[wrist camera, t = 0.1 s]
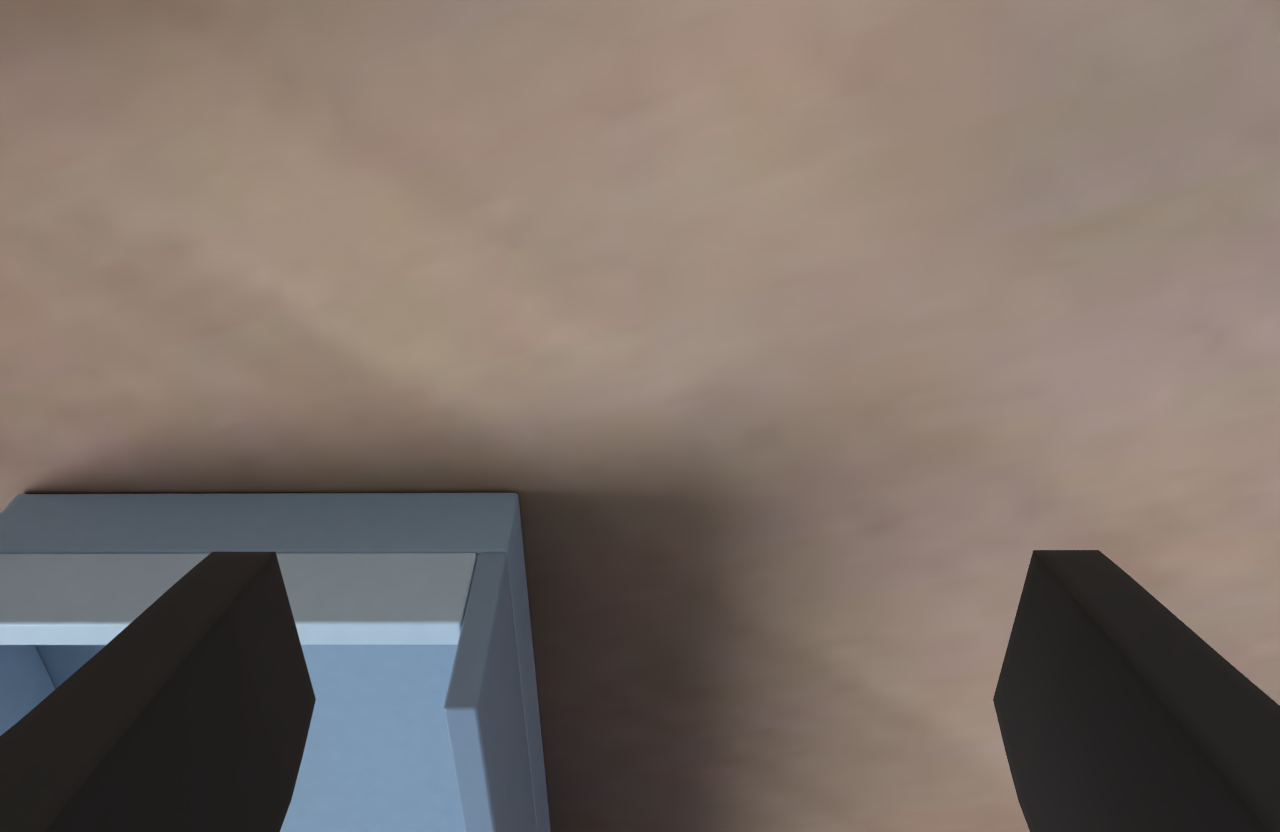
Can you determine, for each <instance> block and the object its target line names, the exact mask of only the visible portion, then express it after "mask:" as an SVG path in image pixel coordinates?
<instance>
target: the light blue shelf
mask: <svg viewBox="0 0 1280 832" xmlns="http://www.w3.org/2000/svg"><path fill="white" fill-rule="evenodd" d="M211 552H276V555H277V559H278V563H279V566H280V570H281V574H282V577H283V581H284V585H285V588H286V592H287V596H288V599H289V603H290V607H291V610H292V614H293V618H294V621H295V625H296V629H297V632H298V636H299V639H300V643H301V647H302V650H303V654H304V658H305V661H306V665H307V669H308V672H309V676H310V680H311V683H312V687H313V691H314V694H315V698H316V701H315V705H314V710H313V714H312V718H311V723H310V727H309V731H308V736H307V740H306V744H305V749H304V753H303V757H302V761H301V765H300V769H299V772H298V776H297V780H296V784H295V788H294V792H293V796H292V800H291V802H290V805H289V808H288V811H287V813H286V816H285V819H284V822H283V824H282V827H281V830H280V832H551V829H550V819H549V809H548V798H547V788H546V777H545V767H544V757H543V746H542V736H541V726H540V715H539V705H538V695H537V684H536V674H535V664H534V653H533V643H532V632H531V622H530V612H529V601H528V591H527V581H526V570H525V560H524V550H523V539H522V529H521V518H520V508H519V498H518V495H517V493H242V494H20V495H17V496H16V497H15V498H14V499H13V500H12V501H11V502H10V503H9V504H8V506H7V507H6V508H5V509H4V510H3V511H2V512H1V513H0V736H1V735H2V734H3V733H5V732H6V731H7V730H8V729H10V728H11V727H12V726H13V725H14V724H16V723H17V722H18V721H19V720H21V719H22V718H23V717H24V716H25V715H26V714H28V713H29V712H30V711H31V710H32V709H33V708H35V707H36V706H37V705H38V704H39V703H40V702H41V701H43V700H44V699H45V698H46V697H47V696H48V695H49V694H51V693H52V692H53V691H54V690H55V689H56V688H57V687H59V686H60V685H61V684H62V683H63V682H64V681H66V680H67V679H68V678H69V677H70V676H71V675H72V674H74V673H75V672H76V671H77V670H78V669H79V668H80V667H82V666H83V665H84V664H85V663H86V662H87V661H88V660H90V659H91V658H92V657H93V656H94V655H95V654H97V653H98V652H99V651H100V650H101V649H102V648H103V647H105V646H106V645H107V644H108V643H109V642H110V641H111V640H112V639H114V638H115V637H116V636H117V635H118V634H119V633H120V632H121V631H122V630H124V629H125V628H126V627H127V626H128V625H129V624H130V623H131V622H133V621H134V620H135V619H136V618H137V617H138V616H139V615H140V614H141V613H143V612H144V611H145V610H146V609H147V608H148V607H149V606H150V605H152V604H153V603H154V602H155V601H156V600H157V599H158V598H159V597H160V596H162V595H163V594H164V593H165V592H166V591H167V590H168V589H169V588H171V587H172V586H173V585H174V584H175V583H176V582H177V581H178V580H180V579H181V578H182V577H183V576H184V575H185V574H186V573H188V572H189V571H190V570H191V569H192V568H193V567H195V566H196V565H197V564H198V563H199V562H201V561H202V560H203V559H204V558H205V557H207V556H208V555H209V554H210V553H211Z"/></svg>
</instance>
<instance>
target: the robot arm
mask: <svg viewBox="0 0 1280 832" xmlns="http://www.w3.org/2000/svg"><path fill="white" fill-rule="evenodd" d="M315 701H316V698H315V694H314V691H313V687H312V683H311V680H310V676H309V672H308V669H307V665H306V661H305V658H304V654H303V650H302V647H301V643H300V639H299V636H298V632H297V629H296V625H295V621H294V618H293V614H292V610H291V607H290V603H289V599H288V596H287V592H286V588H285V585H284V581H283V577H282V574H281V570H280V566H279V563H278V559H277V555H276V552H211V553H210V554H209V555H208V556H207V557H205V558H204V559H203V560H202V561H201V562H199V563H198V564H197V565H196V566H195V567H193V568H192V569H191V570H190V571H189V572H188V573H186V574H185V575H184V576H183V577H182V578H181V579H180V580H178V581H177V582H176V583H175V584H174V585H173V586H172V587H171V588H169V589H168V590H167V591H166V592H165V593H164V594H163V595H162V596H160V597H159V598H158V599H157V600H156V601H155V602H154V603H153V604H152V605H150V606H149V607H148V608H147V609H146V610H145V611H144V612H143V613H141V614H140V615H139V616H138V617H137V618H136V619H135V620H134V621H133V622H131V623H130V624H129V625H128V626H127V627H126V628H125V629H124V630H122V631H121V632H120V633H119V634H118V635H117V636H116V637H115V638H114V639H112V640H111V641H110V642H109V643H108V644H107V645H106V646H105V647H103V648H102V649H101V650H100V651H99V652H98V653H97V654H95V655H94V656H93V657H92V658H91V659H90V660H88V661H87V662H86V663H85V664H84V665H83V666H82V667H80V668H79V669H78V670H77V671H76V672H75V673H74V674H72V675H71V676H70V677H69V678H68V679H67V680H66V681H64V682H63V683H62V684H61V685H60V686H59V687H57V688H56V689H55V690H54V691H53V692H52V693H51V694H49V695H48V696H47V697H46V698H45V699H44V700H43V701H41V702H40V703H39V704H38V705H37V706H36V707H35V708H33V709H32V710H31V711H30V712H29V713H28V714H26V715H25V716H24V717H23V718H22V719H21V720H19V721H18V722H17V723H16V724H14V725H13V726H12V727H11V728H10V729H8V730H7V731H6V732H5V733H3V734H2V735H1V736H0V832H280V830H281V827H282V824H283V822H284V819H285V816H286V813H287V811H288V808H289V805H290V802H291V800H292V796H293V792H294V788H295V784H296V780H297V776H298V772H299V769H300V765H301V761H302V757H303V753H304V749H305V744H306V740H307V736H308V731H309V727H310V723H311V718H312V714H313V710H314V705H315ZM993 701H994V705H995V709H996V713H997V717H998V722H999V726H1000V730H1001V734H1002V738H1003V742H1004V747H1005V751H1006V755H1007V759H1008V763H1009V766H1010V770H1011V774H1012V777H1013V781H1014V785H1015V789H1016V792H1017V796H1018V800H1019V803H1020V806H1021V808H1022V811H1023V814H1024V816H1025V819H1026V822H1027V824H1028V827H1029V830H1030V832H1280V706H1279V705H1278V704H1277V703H1276V702H1275V701H1273V700H1272V699H1271V698H1270V697H1269V696H1267V695H1266V694H1265V693H1264V692H1263V691H1261V690H1260V689H1259V688H1258V687H1257V686H1256V685H1254V684H1253V683H1252V682H1251V681H1250V680H1249V679H1247V678H1246V677H1245V676H1244V675H1243V674H1242V673H1240V672H1239V671H1238V670H1237V669H1236V668H1235V667H1233V666H1232V665H1231V664H1230V663H1229V662H1228V661H1226V660H1225V659H1224V658H1223V657H1222V656H1221V655H1219V654H1218V653H1217V652H1216V651H1215V650H1214V649H1213V648H1211V647H1210V646H1209V645H1208V644H1207V643H1206V642H1205V641H1203V640H1202V639H1201V638H1200V637H1199V636H1198V635H1197V634H1195V633H1194V632H1193V631H1192V630H1191V629H1190V628H1188V627H1187V626H1186V625H1185V624H1184V623H1183V622H1182V621H1180V620H1179V619H1178V618H1177V617H1176V616H1175V615H1174V614H1172V613H1171V612H1170V611H1169V610H1168V609H1167V608H1166V607H1164V606H1163V605H1162V604H1161V603H1160V602H1159V601H1158V600H1156V599H1155V598H1154V597H1153V596H1152V595H1151V594H1150V593H1148V592H1147V591H1146V590H1145V589H1144V588H1143V587H1142V586H1140V585H1139V584H1138V583H1137V582H1136V581H1135V580H1134V579H1132V578H1131V577H1130V576H1129V575H1128V574H1127V573H1125V572H1124V571H1123V570H1122V569H1121V568H1119V567H1118V566H1117V565H1116V564H1115V563H1113V562H1112V561H1111V560H1110V559H1109V558H1107V557H1106V556H1105V555H1104V554H1102V553H1101V552H1100V551H1099V550H1033V554H1032V558H1031V561H1030V565H1029V569H1028V572H1027V576H1026V580H1025V584H1024V587H1023V591H1022V595H1021V598H1020V602H1019V606H1018V610H1017V613H1016V617H1015V621H1014V624H1013V628H1012V632H1011V636H1010V639H1009V643H1008V647H1007V650H1006V654H1005V658H1004V662H1003V665H1002V669H1001V673H1000V677H999V680H998V684H997V688H996V691H995V695H994V699H993Z"/></svg>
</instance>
